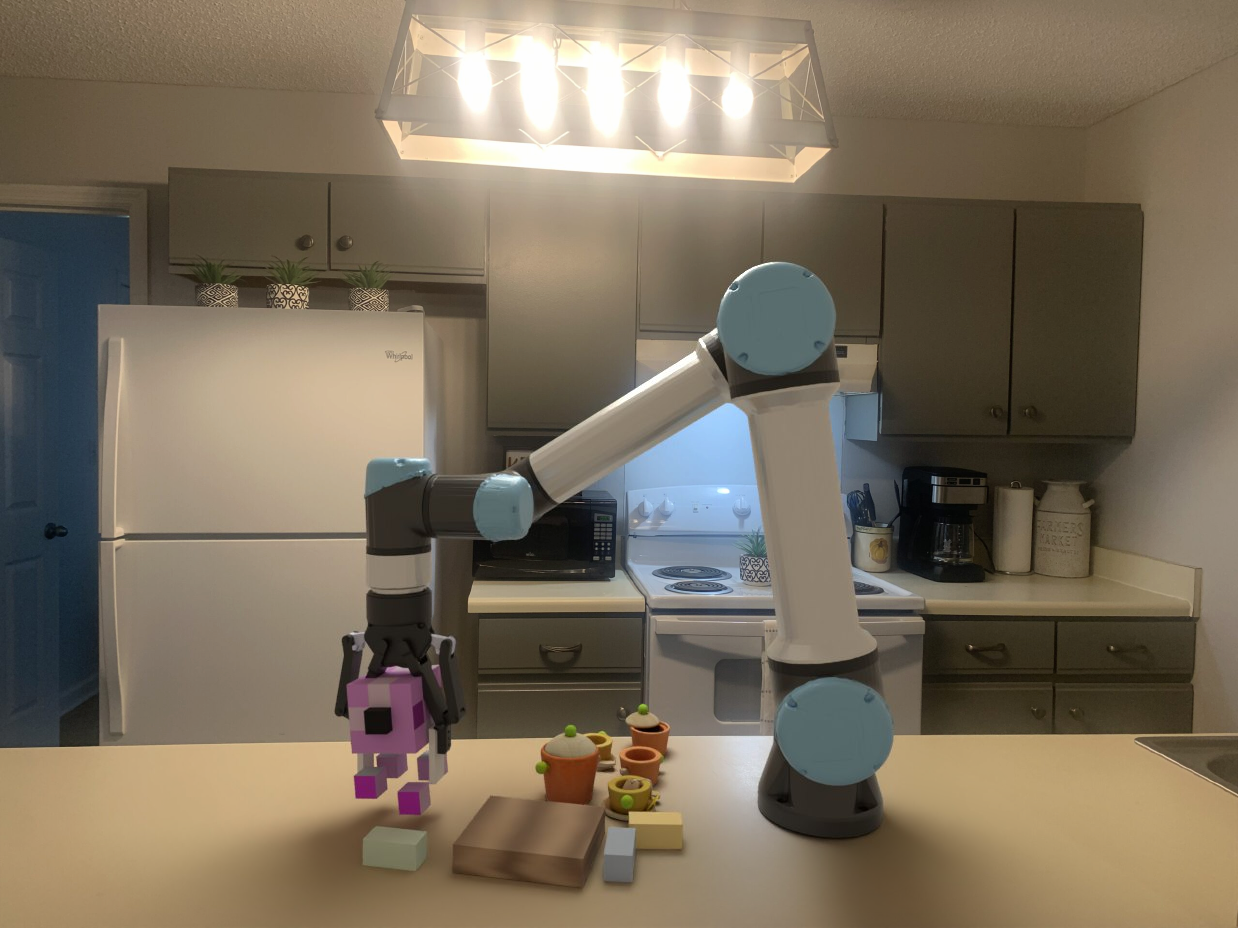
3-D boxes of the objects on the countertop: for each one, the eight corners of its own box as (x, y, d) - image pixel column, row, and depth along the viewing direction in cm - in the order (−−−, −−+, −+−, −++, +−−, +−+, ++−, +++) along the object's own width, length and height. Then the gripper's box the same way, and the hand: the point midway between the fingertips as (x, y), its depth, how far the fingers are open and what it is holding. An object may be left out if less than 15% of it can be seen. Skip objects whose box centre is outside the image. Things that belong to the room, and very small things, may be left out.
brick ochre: (680, 837, 95) (680, 812, 95) (682, 850, 92) (682, 824, 92) (628, 836, 95) (628, 811, 95) (628, 849, 92) (629, 823, 92)
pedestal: (605, 832, 96) (605, 806, 96) (582, 887, 84) (583, 858, 84) (490, 819, 98) (490, 795, 98) (452, 872, 86) (452, 844, 86)
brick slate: (608, 853, 91) (608, 826, 91) (635, 854, 91) (635, 827, 91) (603, 882, 85) (603, 854, 85) (632, 883, 85) (632, 855, 85)
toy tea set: (653, 831, 97) (654, 751, 96) (527, 817, 100) (528, 739, 99) (681, 749, 122) (682, 685, 122) (580, 740, 125) (581, 677, 125)
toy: (415, 820, 92) (405, 686, 92) (350, 818, 93) (340, 688, 93) (453, 781, 102) (444, 661, 102) (394, 781, 104) (385, 663, 104)
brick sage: (427, 858, 89) (427, 831, 89) (415, 872, 86) (415, 844, 86) (375, 852, 90) (375, 825, 90) (362, 866, 88) (362, 838, 87)
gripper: (494, 584, 99) (496, 770, 100) (333, 579, 103) (335, 758, 103) (473, 596, 92) (474, 796, 92) (299, 590, 95) (302, 783, 96)
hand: (401, 776), depth 98 cm, fingers closed on toy, 8 cm apart
